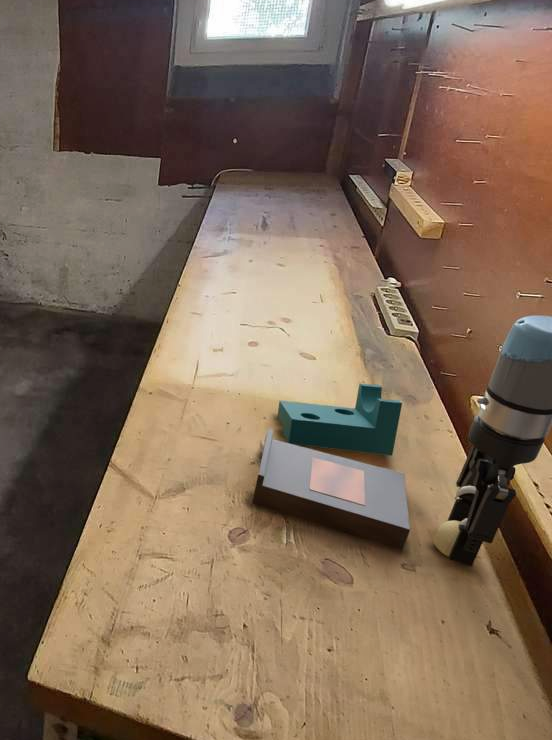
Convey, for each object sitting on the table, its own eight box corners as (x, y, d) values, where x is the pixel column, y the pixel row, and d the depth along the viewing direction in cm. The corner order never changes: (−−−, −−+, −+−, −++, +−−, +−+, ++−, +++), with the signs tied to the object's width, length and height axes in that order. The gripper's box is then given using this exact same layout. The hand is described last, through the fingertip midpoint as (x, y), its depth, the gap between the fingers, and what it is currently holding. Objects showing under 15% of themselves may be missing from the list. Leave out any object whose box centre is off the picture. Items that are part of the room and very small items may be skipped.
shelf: (396, 493, 98) (407, 464, 95) (402, 550, 87) (414, 520, 84) (262, 456, 108) (268, 428, 105) (251, 503, 97) (258, 474, 94)
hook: (426, 542, 88) (449, 483, 83) (445, 529, 90) (469, 471, 85) (469, 570, 83) (497, 510, 78) (488, 556, 85) (517, 497, 80)
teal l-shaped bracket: (370, 433, 115) (379, 385, 113) (392, 455, 105) (402, 403, 103) (276, 422, 119) (283, 376, 117) (288, 443, 109) (295, 392, 107)
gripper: (465, 385, 85) (422, 500, 96) (488, 456, 71) (434, 582, 81) (529, 397, 82) (477, 515, 92) (565, 474, 68) (499, 603, 78)
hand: (457, 547), depth 87 cm, fingers closed on hook, 5 cm apart
